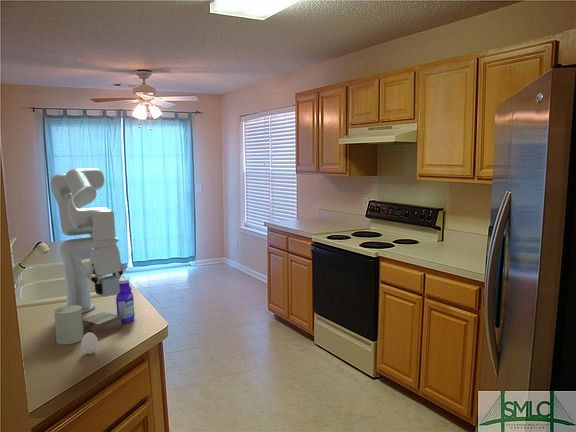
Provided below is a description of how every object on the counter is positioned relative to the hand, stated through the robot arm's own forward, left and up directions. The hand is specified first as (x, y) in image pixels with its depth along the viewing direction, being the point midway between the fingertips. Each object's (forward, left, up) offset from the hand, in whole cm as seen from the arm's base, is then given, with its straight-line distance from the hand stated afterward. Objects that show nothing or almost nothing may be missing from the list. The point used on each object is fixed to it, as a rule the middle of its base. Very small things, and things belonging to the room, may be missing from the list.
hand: (107, 290), depth 164 cm
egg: (+9, -13, -17) cm, 24 cm away
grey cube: (0, 0, -1) cm, 1 cm away
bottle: (-9, +12, -17) cm, 23 cm away
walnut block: (-8, +1, -17) cm, 19 cm away
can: (-9, -11, -17) cm, 22 cm away
